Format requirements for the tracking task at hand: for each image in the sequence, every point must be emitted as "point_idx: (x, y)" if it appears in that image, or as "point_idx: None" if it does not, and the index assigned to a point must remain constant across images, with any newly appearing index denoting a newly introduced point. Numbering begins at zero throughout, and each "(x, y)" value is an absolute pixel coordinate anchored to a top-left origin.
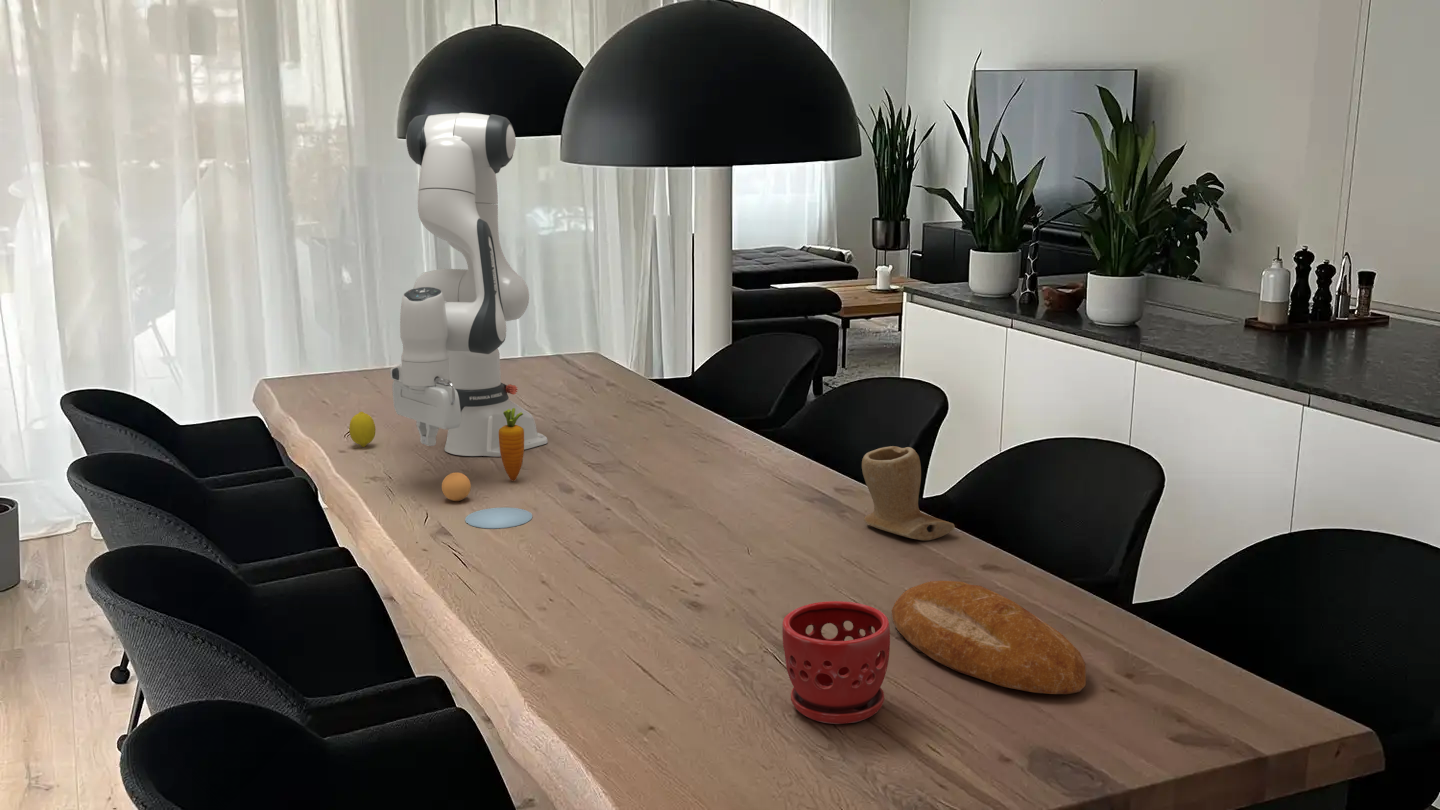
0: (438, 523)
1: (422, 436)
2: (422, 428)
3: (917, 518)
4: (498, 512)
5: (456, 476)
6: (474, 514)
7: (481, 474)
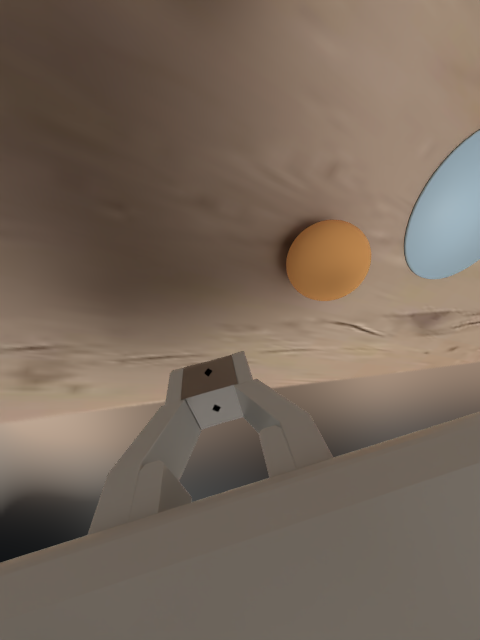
0: (393, 317)
1: (206, 423)
2: (176, 464)
3: None
4: (451, 198)
5: (364, 276)
6: (416, 252)
7: (25, 21)
